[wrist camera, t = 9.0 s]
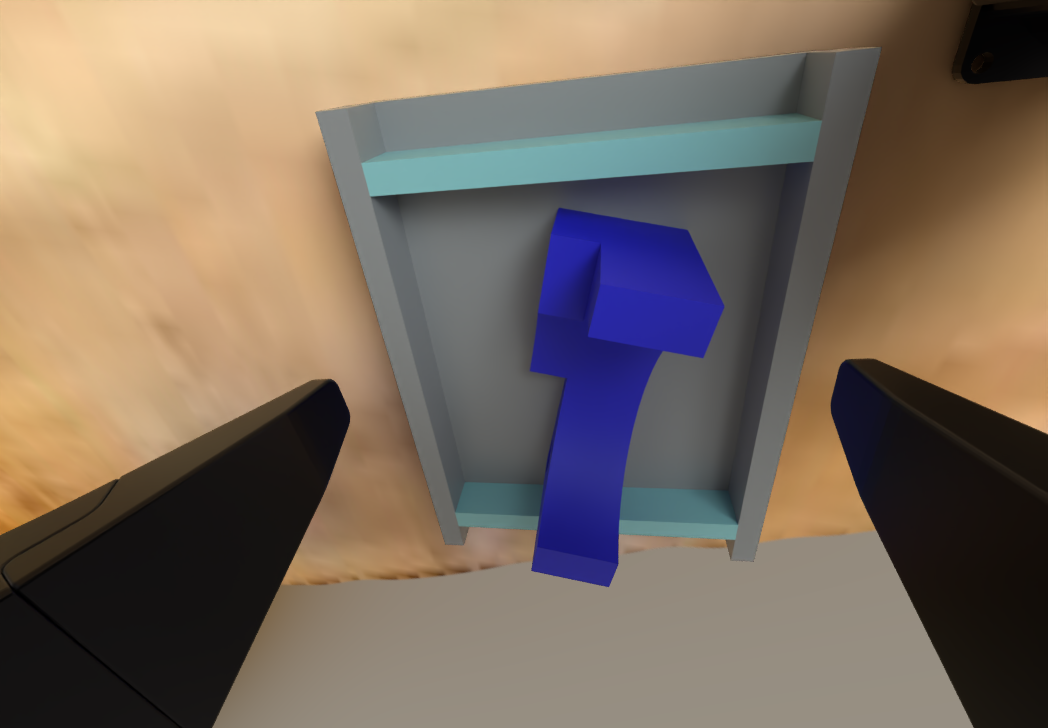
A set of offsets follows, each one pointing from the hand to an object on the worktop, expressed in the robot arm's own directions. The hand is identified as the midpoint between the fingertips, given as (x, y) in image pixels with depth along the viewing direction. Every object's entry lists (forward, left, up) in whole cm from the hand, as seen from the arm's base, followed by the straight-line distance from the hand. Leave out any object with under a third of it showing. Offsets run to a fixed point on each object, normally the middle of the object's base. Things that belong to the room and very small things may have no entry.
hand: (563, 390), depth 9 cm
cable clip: (0, +6, -10) cm, 11 cm away
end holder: (0, +6, -11) cm, 12 cm away
